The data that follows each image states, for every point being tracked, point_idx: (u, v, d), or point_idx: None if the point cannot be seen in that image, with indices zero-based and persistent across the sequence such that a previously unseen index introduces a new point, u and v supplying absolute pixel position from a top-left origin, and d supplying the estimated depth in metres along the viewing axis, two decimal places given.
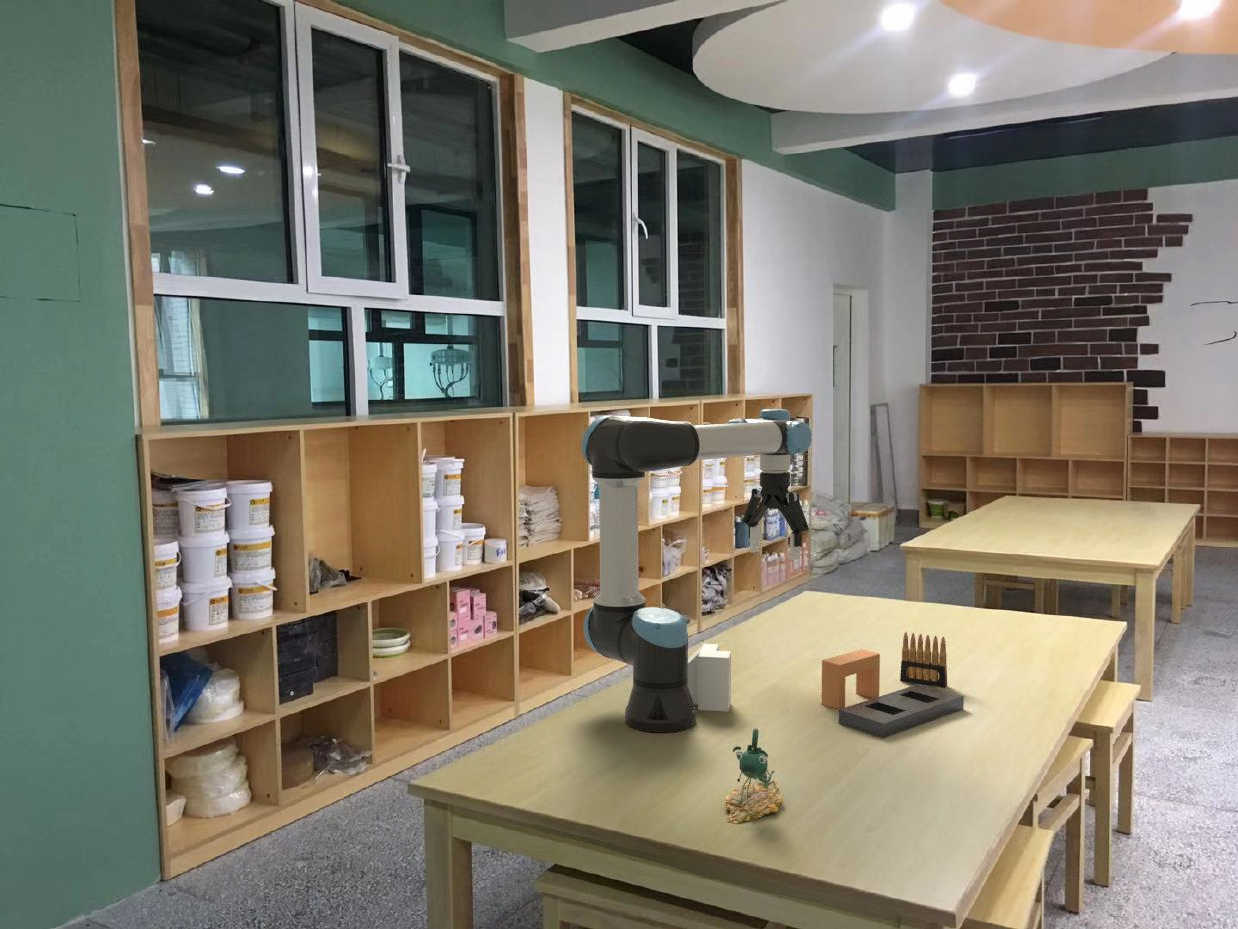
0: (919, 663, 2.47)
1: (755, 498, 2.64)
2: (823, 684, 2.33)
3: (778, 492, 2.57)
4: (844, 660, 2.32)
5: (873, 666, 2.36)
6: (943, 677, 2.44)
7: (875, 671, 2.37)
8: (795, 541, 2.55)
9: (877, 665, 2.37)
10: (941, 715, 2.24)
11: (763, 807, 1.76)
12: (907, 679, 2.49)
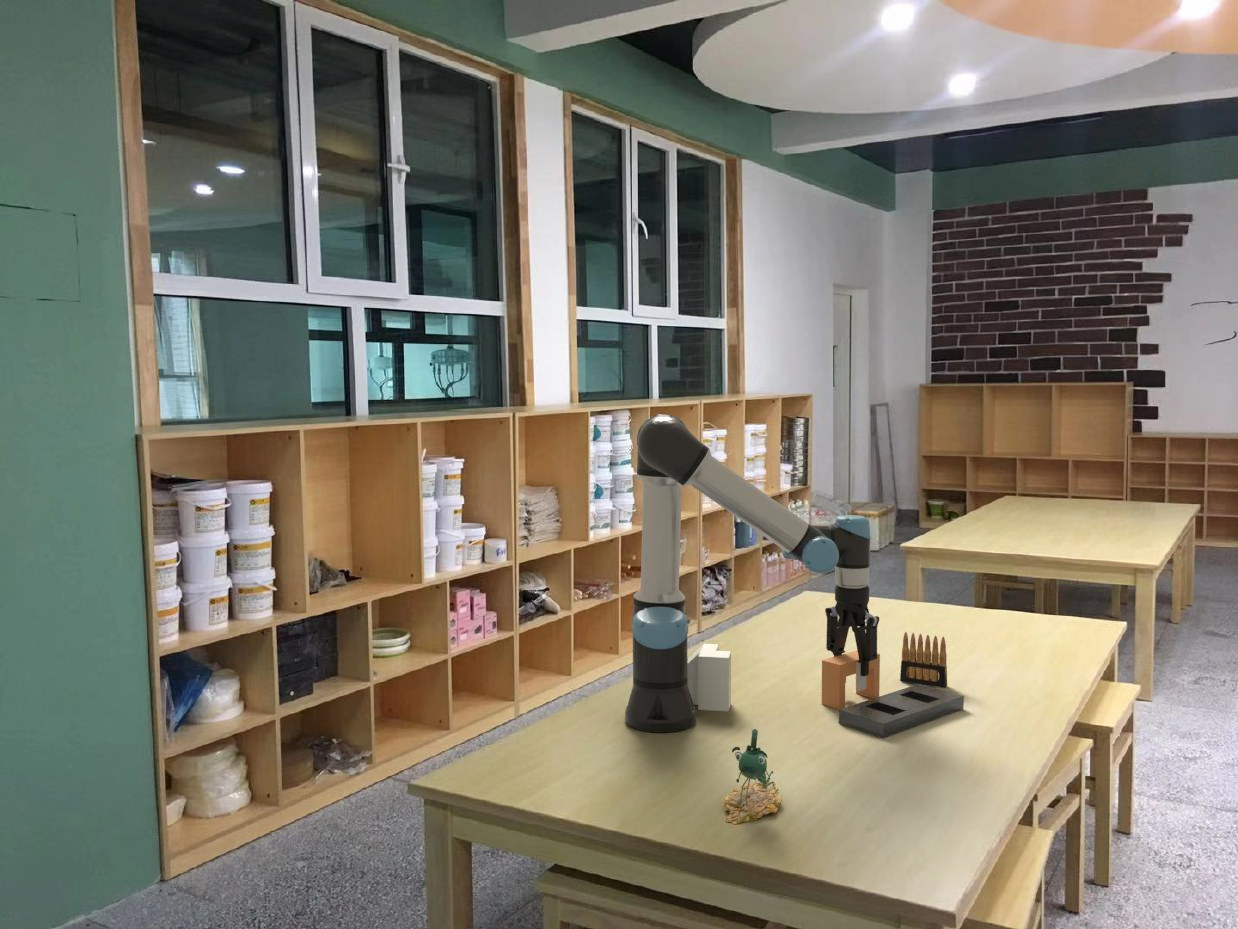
0: (919, 663, 2.47)
1: (832, 618, 2.37)
2: (823, 684, 2.33)
3: (858, 608, 2.31)
4: (844, 660, 2.32)
5: (873, 666, 2.36)
6: (943, 677, 2.44)
7: (875, 670, 2.37)
8: (862, 670, 2.32)
9: (877, 665, 2.37)
10: (941, 715, 2.24)
11: (762, 807, 1.76)
12: (907, 679, 2.49)
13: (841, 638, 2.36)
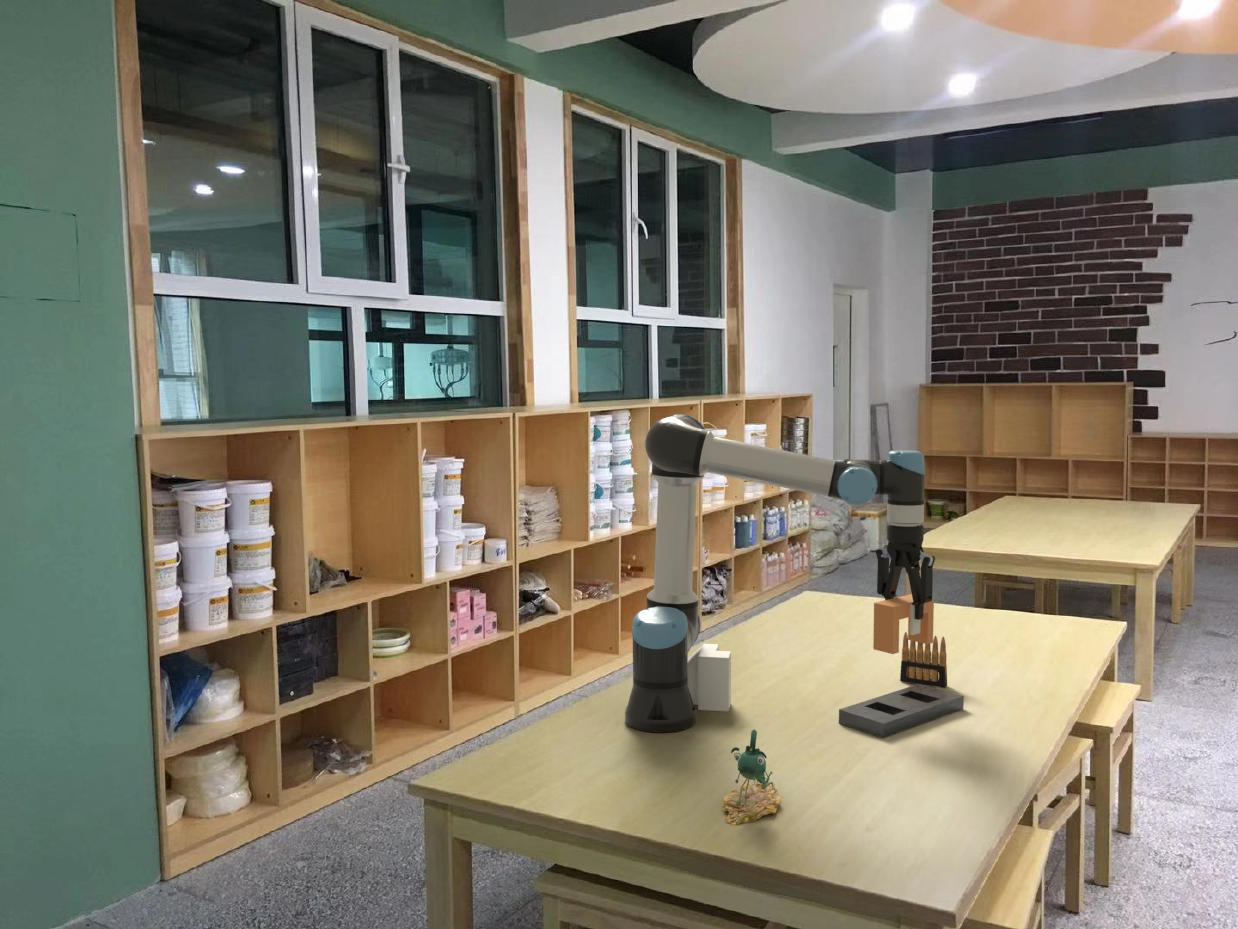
0: (919, 663, 2.47)
1: (883, 559, 2.25)
2: (875, 628, 2.20)
3: (912, 547, 2.19)
4: (897, 603, 2.20)
5: (927, 610, 2.24)
6: (943, 677, 2.44)
7: (929, 615, 2.24)
8: (916, 613, 2.20)
9: (931, 609, 2.25)
10: (941, 715, 2.24)
11: (761, 808, 1.76)
12: (907, 679, 2.49)
13: (893, 580, 2.23)
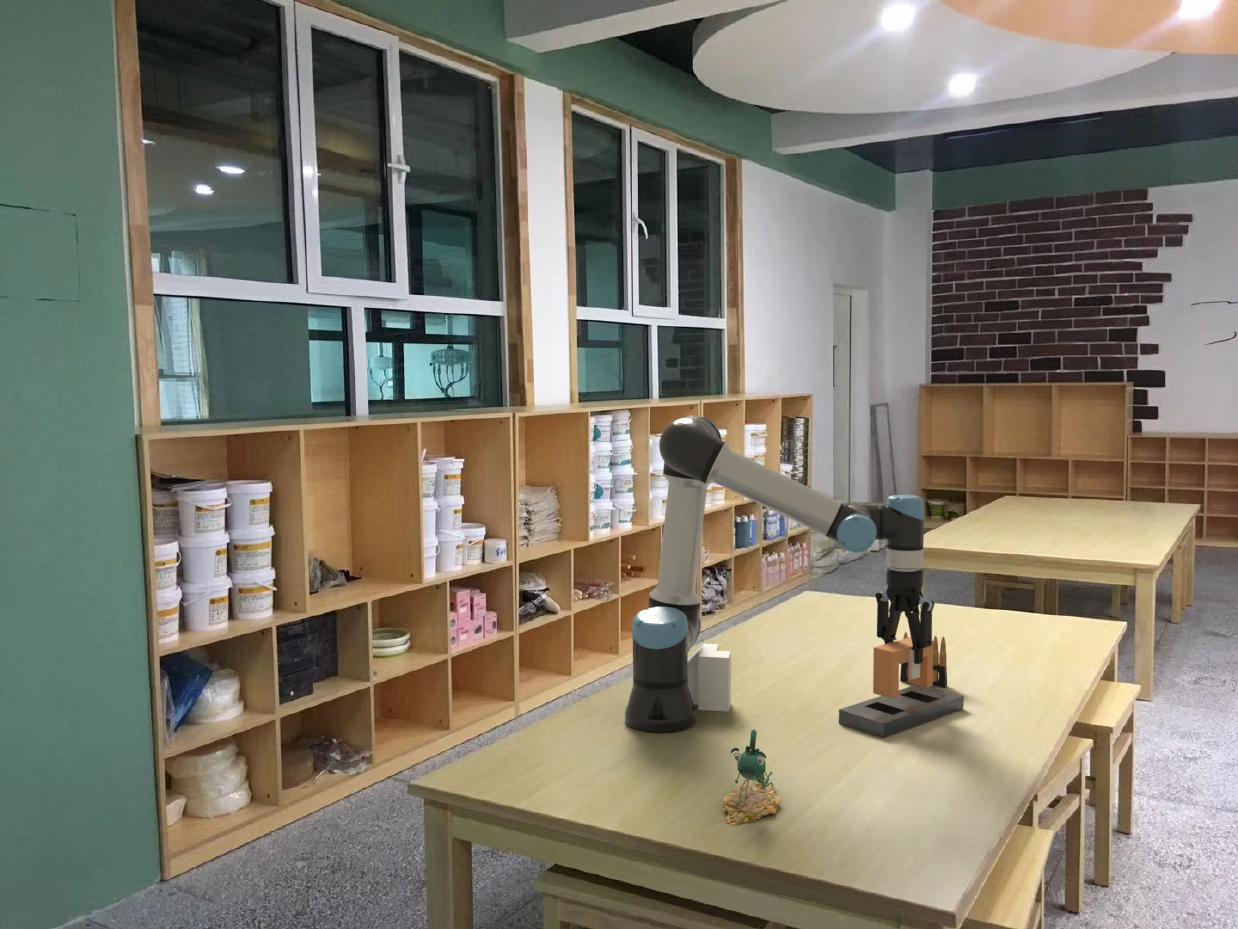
0: None
1: (882, 603, 2.26)
2: (875, 672, 2.21)
3: (911, 592, 2.20)
4: (897, 647, 2.21)
5: (926, 653, 2.25)
6: (943, 677, 2.44)
7: (929, 658, 2.25)
8: (915, 658, 2.20)
9: (931, 652, 2.25)
10: (941, 715, 2.24)
11: (761, 808, 1.76)
12: (907, 679, 2.49)
13: (893, 624, 2.24)
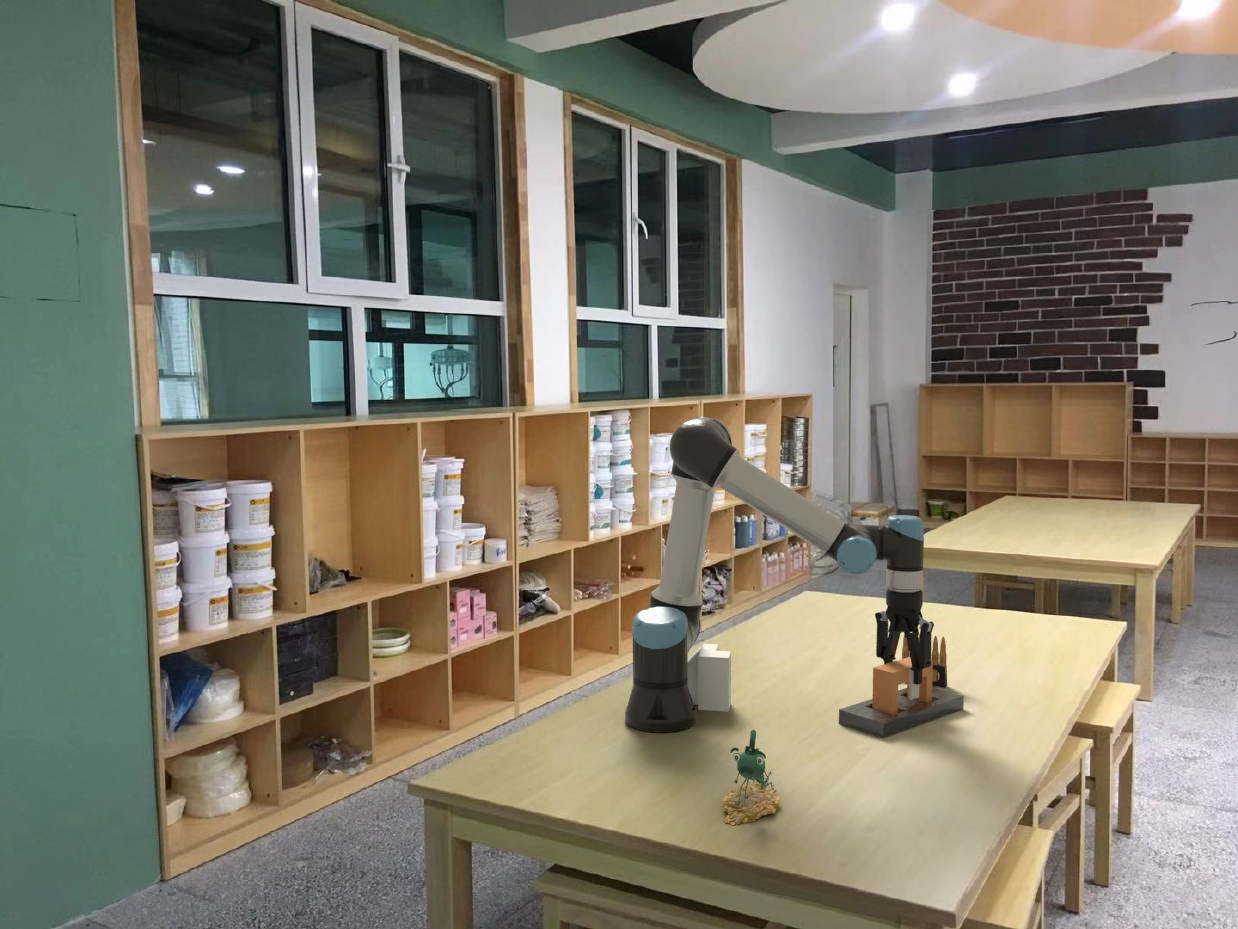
0: None
1: (882, 623, 2.26)
2: (874, 693, 2.22)
3: (911, 613, 2.20)
4: (896, 667, 2.21)
5: (926, 674, 2.25)
6: (943, 677, 2.44)
7: (928, 678, 2.26)
8: (915, 678, 2.21)
9: (930, 672, 2.26)
10: (941, 715, 2.24)
11: (761, 808, 1.75)
12: None
13: (892, 644, 2.25)
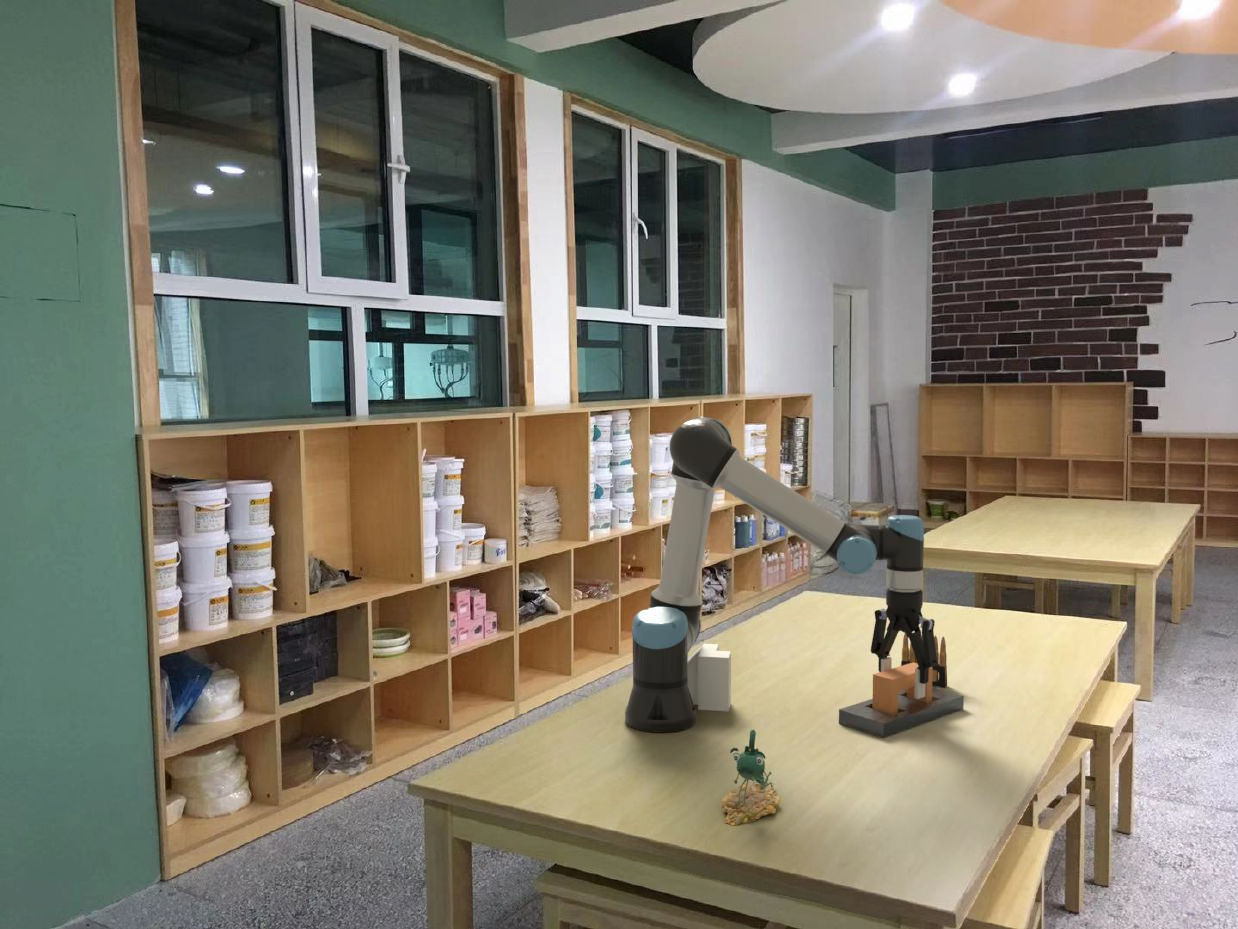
0: None
1: (881, 621, 2.27)
2: (874, 699, 2.22)
3: (910, 613, 2.20)
4: (896, 674, 2.21)
5: None
6: (943, 677, 2.44)
7: (928, 685, 2.26)
8: (921, 677, 2.19)
9: (930, 679, 2.26)
10: (941, 715, 2.24)
11: (760, 808, 1.75)
12: None
13: (888, 642, 2.25)
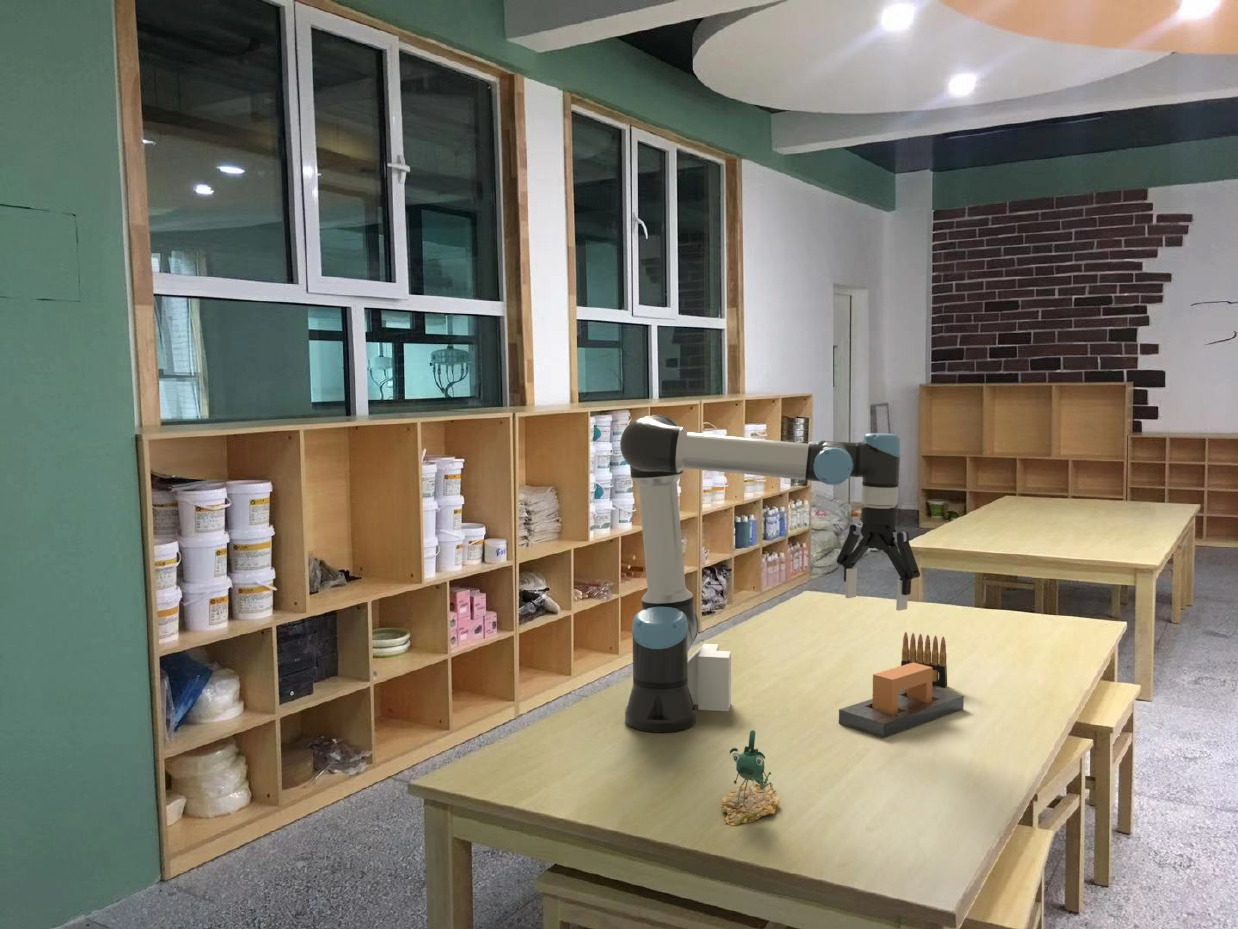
0: (919, 663, 2.47)
1: (854, 536, 2.28)
2: (874, 699, 2.22)
3: (883, 530, 2.21)
4: (896, 674, 2.21)
5: (926, 680, 2.25)
6: (943, 677, 2.44)
7: (928, 685, 2.26)
8: (903, 589, 2.18)
9: (930, 679, 2.26)
10: (941, 715, 2.24)
11: (760, 809, 1.75)
12: None
13: (857, 555, 2.27)
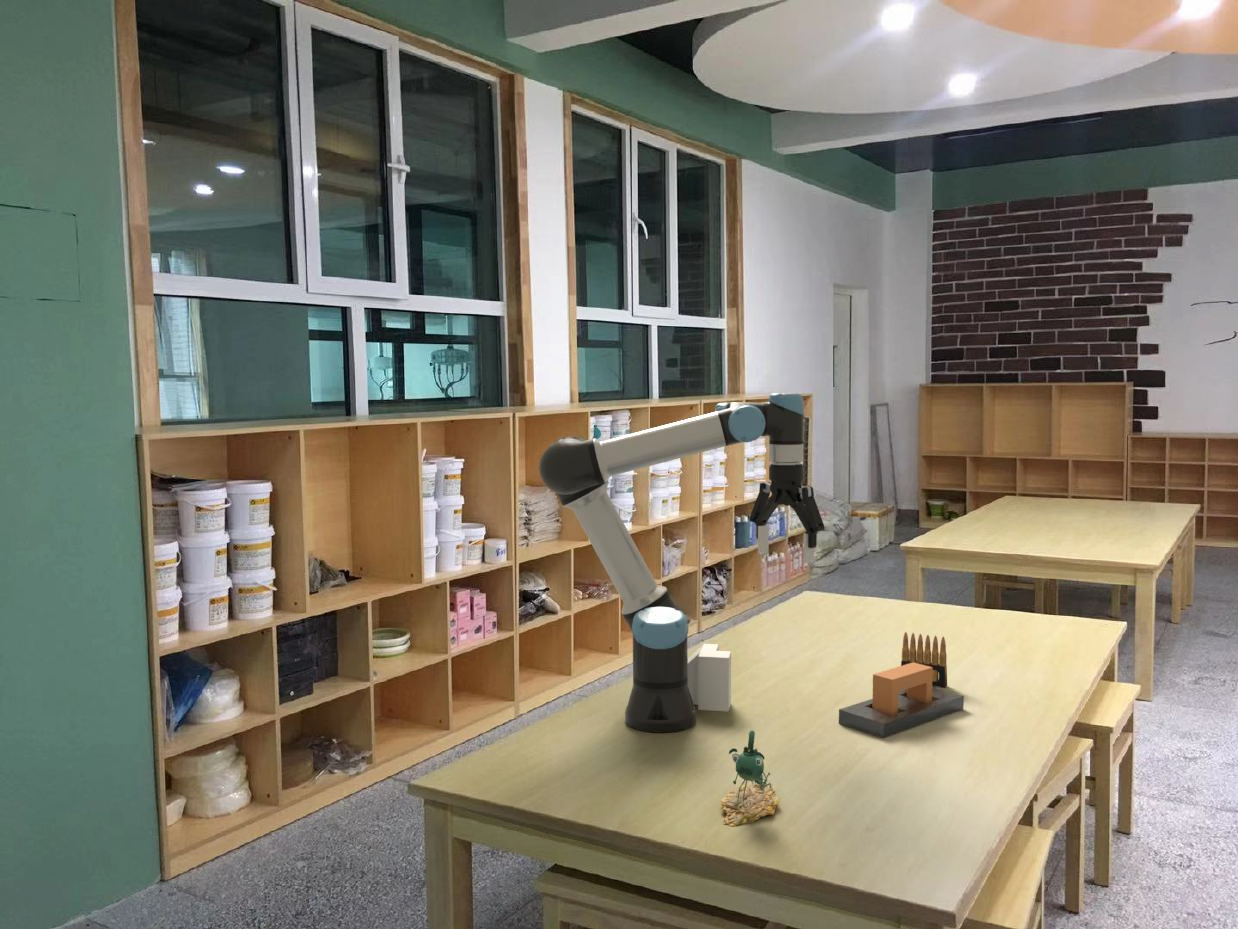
0: (919, 663, 2.47)
1: (764, 493, 2.35)
2: (874, 699, 2.22)
3: (790, 486, 2.28)
4: (896, 674, 2.21)
5: (926, 680, 2.25)
6: (943, 677, 2.44)
7: (928, 685, 2.26)
8: (809, 542, 2.26)
9: (930, 679, 2.26)
10: (941, 715, 2.24)
11: (759, 809, 1.75)
12: None
13: (767, 512, 2.35)
